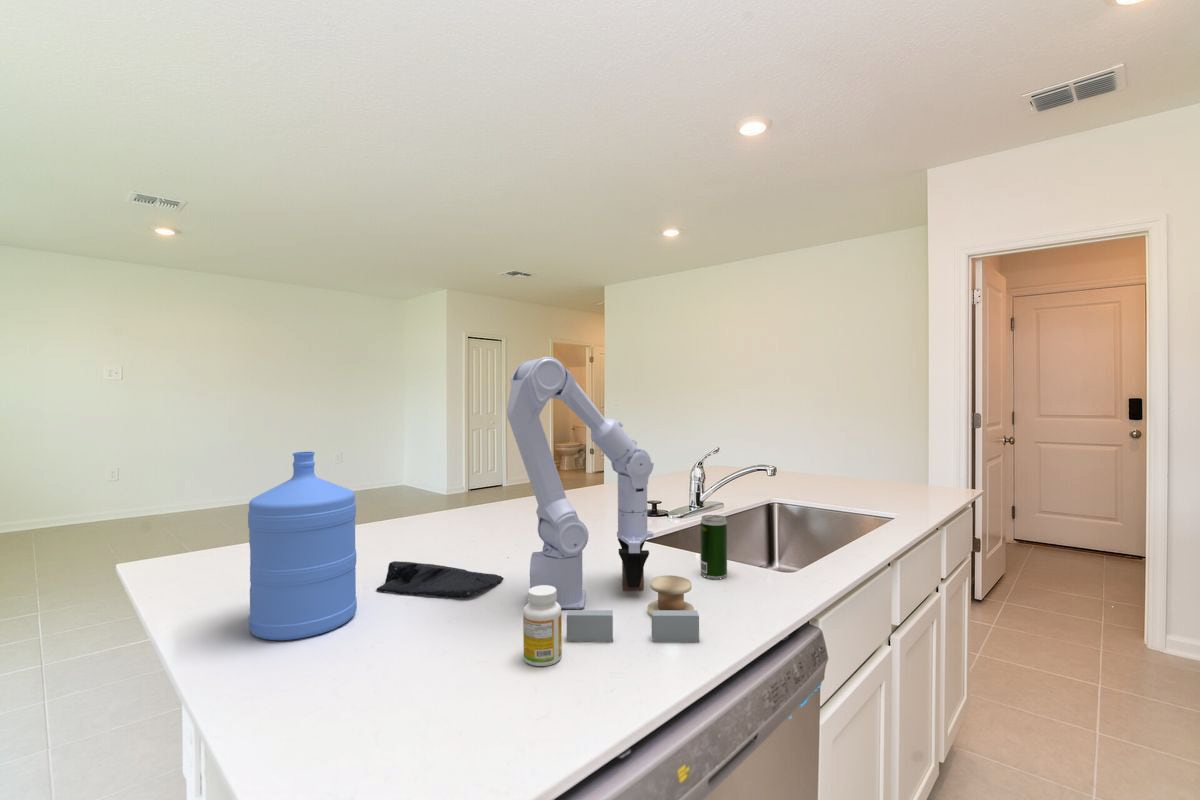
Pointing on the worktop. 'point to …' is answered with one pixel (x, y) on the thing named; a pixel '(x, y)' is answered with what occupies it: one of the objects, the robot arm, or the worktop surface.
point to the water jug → (302, 556)
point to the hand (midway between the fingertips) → (632, 579)
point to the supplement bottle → (542, 627)
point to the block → (625, 585)
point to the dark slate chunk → (435, 580)
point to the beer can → (714, 546)
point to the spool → (670, 593)
